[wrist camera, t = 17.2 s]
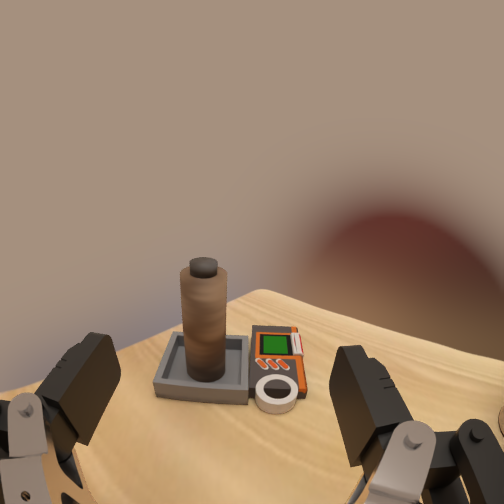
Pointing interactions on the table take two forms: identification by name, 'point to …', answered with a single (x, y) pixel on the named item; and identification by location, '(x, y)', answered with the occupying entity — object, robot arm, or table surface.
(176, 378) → the tray
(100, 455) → the table surface
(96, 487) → the table surface
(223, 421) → the table surface
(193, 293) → the pepper mill
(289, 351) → the electronic device
